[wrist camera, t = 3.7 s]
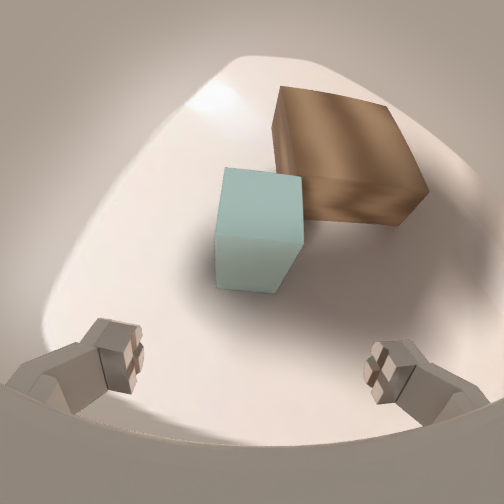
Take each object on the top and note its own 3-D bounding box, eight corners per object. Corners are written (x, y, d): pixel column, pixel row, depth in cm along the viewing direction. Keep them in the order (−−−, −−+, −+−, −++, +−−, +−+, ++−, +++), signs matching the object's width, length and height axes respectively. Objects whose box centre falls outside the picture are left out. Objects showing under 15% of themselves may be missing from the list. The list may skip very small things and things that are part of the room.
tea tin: (276, 241, 23) (301, 176, 16) (275, 293, 21) (304, 243, 14) (221, 235, 23) (225, 167, 16) (215, 288, 21) (214, 234, 14)
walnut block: (367, 143, 31) (386, 106, 26) (396, 227, 26) (429, 192, 21) (270, 129, 30) (280, 85, 24) (280, 220, 25) (297, 174, 19)
